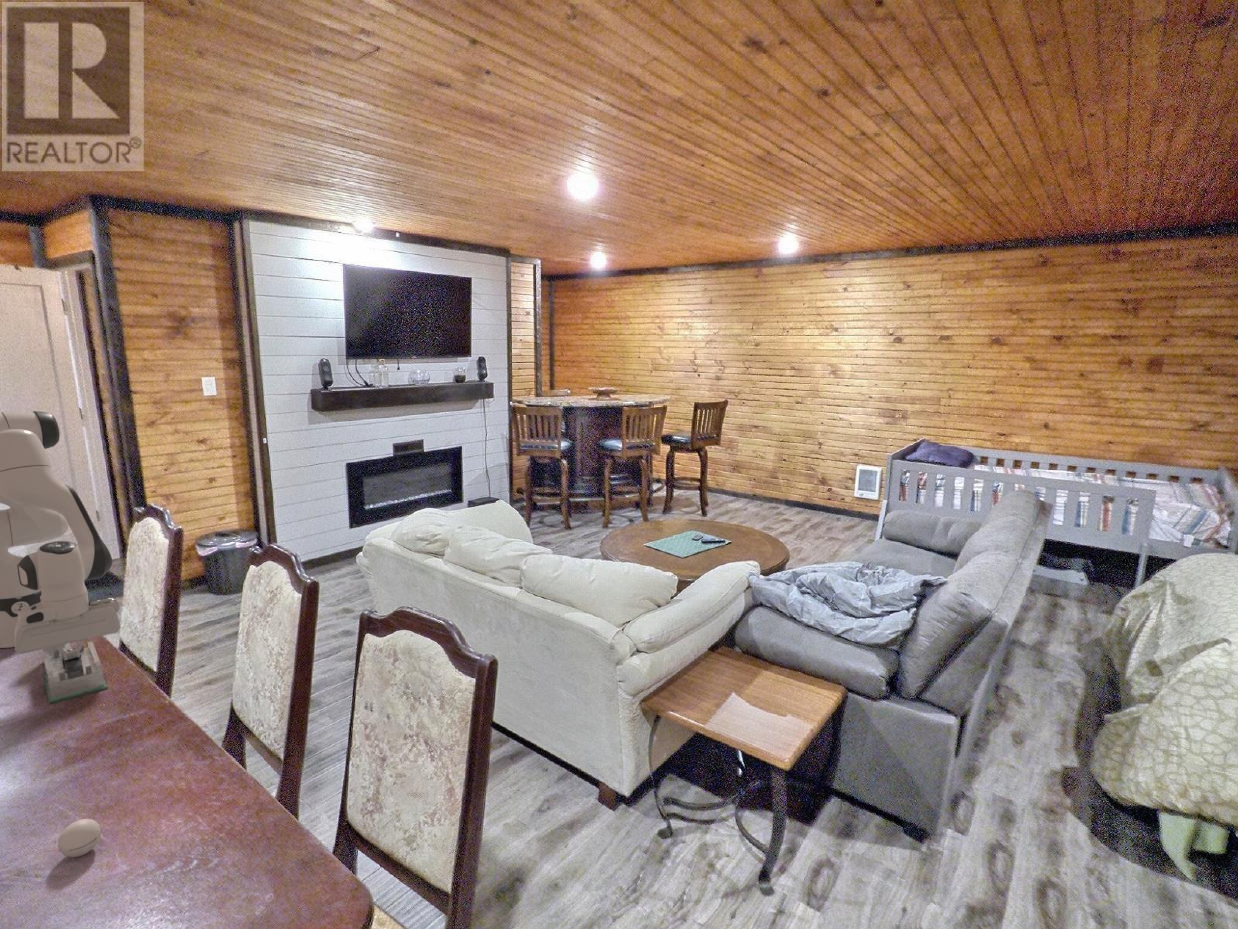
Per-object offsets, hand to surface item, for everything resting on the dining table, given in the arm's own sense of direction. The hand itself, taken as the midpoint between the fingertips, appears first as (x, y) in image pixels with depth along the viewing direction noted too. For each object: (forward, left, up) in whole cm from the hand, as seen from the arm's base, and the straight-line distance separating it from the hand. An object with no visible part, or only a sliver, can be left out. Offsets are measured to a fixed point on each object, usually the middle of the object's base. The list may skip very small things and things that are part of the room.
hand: (72, 658), depth 160 cm
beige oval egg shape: (+72, -4, -8) cm, 73 cm away
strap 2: (+2, 0, -2) cm, 3 cm away
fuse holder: (-3, 0, -7) cm, 8 cm away
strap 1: (-7, 0, -2) cm, 8 cm away
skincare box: (-21, -2, -8) cm, 22 cm away
